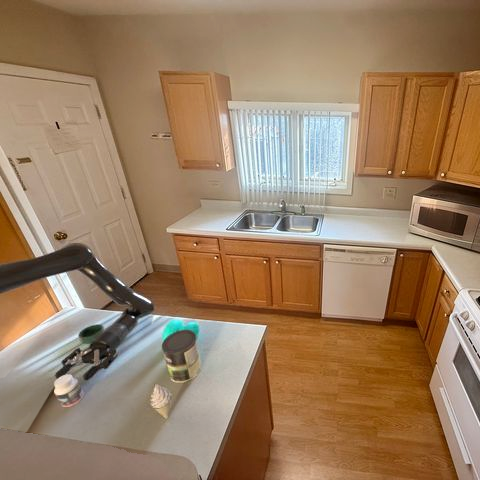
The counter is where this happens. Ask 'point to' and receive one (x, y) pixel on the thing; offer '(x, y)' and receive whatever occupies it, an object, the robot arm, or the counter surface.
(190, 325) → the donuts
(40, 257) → the robot arm
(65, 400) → the pill bottle
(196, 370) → the coffee can
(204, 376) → the counter surface
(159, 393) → the ice cream cone
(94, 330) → the tin
